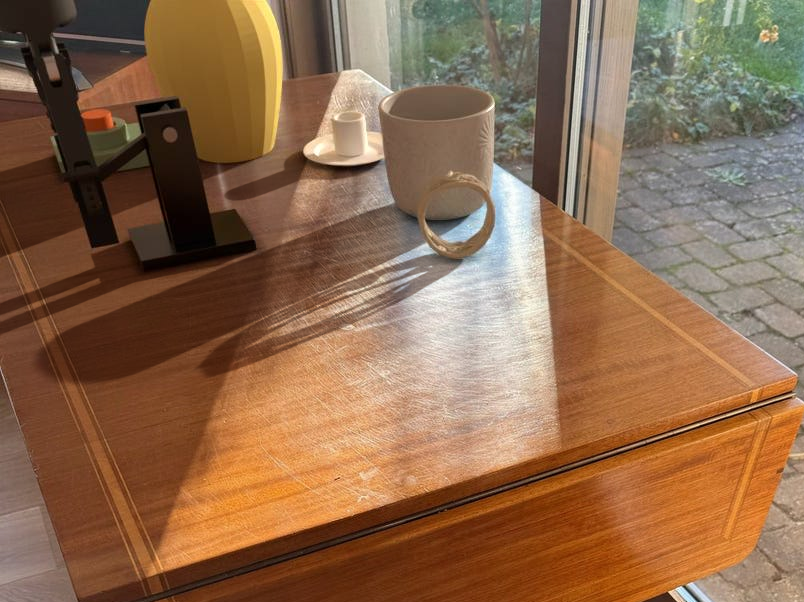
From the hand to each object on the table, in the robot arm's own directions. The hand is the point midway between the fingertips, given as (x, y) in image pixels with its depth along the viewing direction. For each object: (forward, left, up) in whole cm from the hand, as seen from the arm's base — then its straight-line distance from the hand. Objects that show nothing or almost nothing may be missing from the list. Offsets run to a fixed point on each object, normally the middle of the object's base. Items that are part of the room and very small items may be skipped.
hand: (96, 221), depth 101 cm
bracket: (+9, 0, -4) cm, 10 cm away
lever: (+5, 0, +5) cm, 7 cm away
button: (+4, +31, -1) cm, 31 cm away
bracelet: (+34, -15, -4) cm, 37 cm away
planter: (+37, -3, -4) cm, 37 cm away
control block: (+5, +31, -4) cm, 32 cm away
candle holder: (+33, +18, -4) cm, 38 cm away
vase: (+20, +27, -4) cm, 34 cm away
